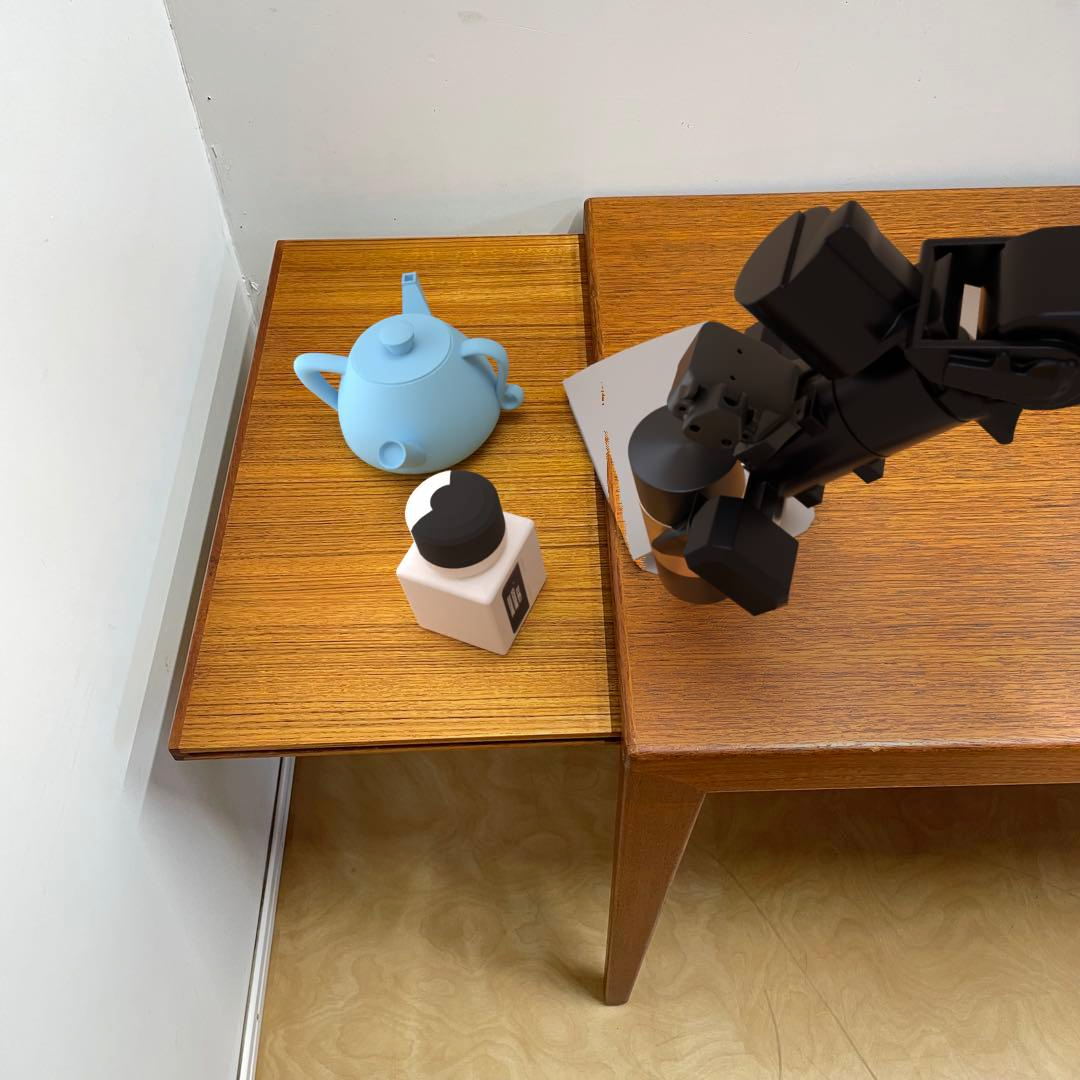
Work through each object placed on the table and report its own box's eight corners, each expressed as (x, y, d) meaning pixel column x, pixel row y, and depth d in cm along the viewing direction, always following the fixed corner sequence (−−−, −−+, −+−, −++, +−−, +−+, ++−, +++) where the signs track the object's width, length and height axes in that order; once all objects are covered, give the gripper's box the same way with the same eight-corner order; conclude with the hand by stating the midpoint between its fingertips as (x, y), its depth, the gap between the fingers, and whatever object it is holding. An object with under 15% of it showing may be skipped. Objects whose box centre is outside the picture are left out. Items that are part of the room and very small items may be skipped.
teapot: (297, 450, 90) (253, 359, 81) (429, 339, 96) (402, 244, 87) (414, 529, 82) (380, 439, 74) (548, 403, 89) (532, 307, 80)
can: (769, 583, 67) (761, 465, 56) (678, 620, 68) (651, 509, 56) (729, 509, 71) (713, 384, 60) (642, 544, 71) (610, 426, 60)
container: (548, 577, 78) (524, 471, 67) (506, 658, 74) (473, 559, 64) (463, 550, 81) (427, 445, 70) (417, 627, 77) (372, 528, 66)
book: (720, 339, 91) (720, 306, 88) (827, 528, 77) (832, 497, 74) (560, 385, 90) (555, 353, 87) (639, 584, 76) (636, 555, 73)
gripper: (794, 196, 54) (614, 329, 66) (726, 452, 44) (529, 553, 56) (922, 321, 58) (731, 425, 70) (886, 581, 48) (670, 650, 60)
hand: (669, 503), depth 64 cm, fingers closed on can, 7 cm apart
